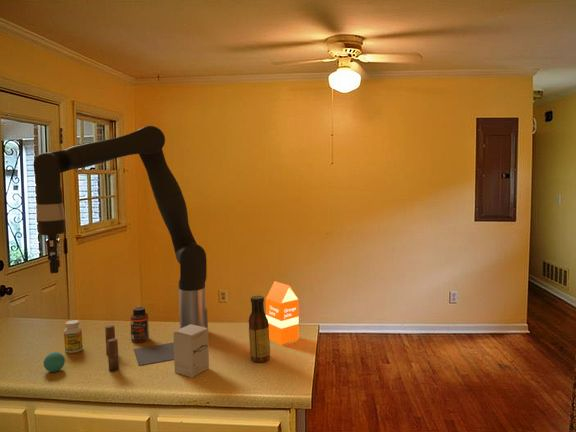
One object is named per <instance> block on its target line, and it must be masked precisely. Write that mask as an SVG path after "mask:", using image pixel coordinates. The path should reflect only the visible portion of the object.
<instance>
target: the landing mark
mask: <svg viewBox="0 0 576 432" xmlns="http://www.w3.org/2000/svg"><path fill="white" fill-rule="evenodd" d="M133 352H134V355H135V358H136V361H137V365H138V367H141V366H146V365H152V364H156V363H158V364H159V363H163V362H164V363H165V362H169V361H174V341H173V342H169V343H168V342H167V343H162V344H156V345H151V346H150V345H149V346H143V347H139V348H133Z"/></svg>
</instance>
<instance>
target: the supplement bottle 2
mask: <svg viewBox="0 0 576 432" xmlns="http://www.w3.org/2000/svg"><path fill="white" fill-rule="evenodd" d="M149 328H150V325H149V315H148V313H147V312H146V308H145V307H144V306H137V307H134V308H133V309H132V314H131V315H130V339H131V342H133V343H143V342H144V343H145V342H146V341H148V340H149V338H150V331H149V330H150V329H149Z"/></svg>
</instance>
